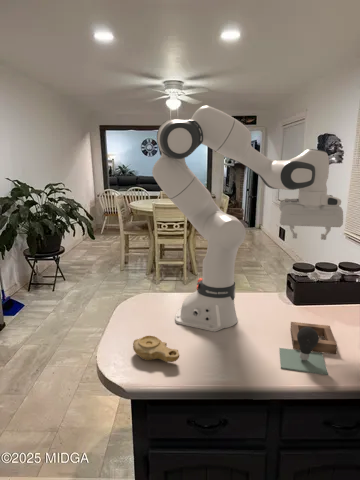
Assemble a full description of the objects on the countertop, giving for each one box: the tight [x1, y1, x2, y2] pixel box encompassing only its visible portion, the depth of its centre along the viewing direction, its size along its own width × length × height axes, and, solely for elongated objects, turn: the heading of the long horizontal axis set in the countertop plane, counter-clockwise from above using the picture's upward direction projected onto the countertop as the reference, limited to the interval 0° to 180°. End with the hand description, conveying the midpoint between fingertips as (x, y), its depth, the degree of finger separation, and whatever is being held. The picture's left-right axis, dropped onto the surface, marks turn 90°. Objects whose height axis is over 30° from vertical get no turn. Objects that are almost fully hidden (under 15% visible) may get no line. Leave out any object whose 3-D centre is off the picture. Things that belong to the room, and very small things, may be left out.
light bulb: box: [297, 327, 320, 361], centre depth 91 cm, size 6×6×10 cm
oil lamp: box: [132, 335, 180, 363], centre depth 95 cm, size 11×14×5 cm
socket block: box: [289, 321, 338, 355], centre depth 103 cm, size 12×12×3 cm
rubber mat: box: [279, 347, 329, 376], centre depth 93 cm, size 12×10×1 cm
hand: (308, 238), depth 114 cm, fingers open, 8 cm apart
